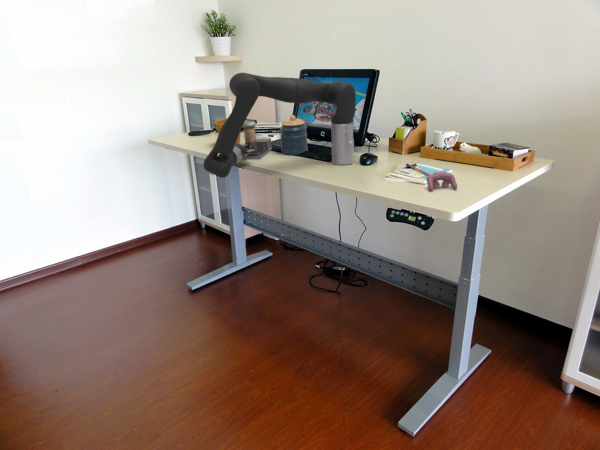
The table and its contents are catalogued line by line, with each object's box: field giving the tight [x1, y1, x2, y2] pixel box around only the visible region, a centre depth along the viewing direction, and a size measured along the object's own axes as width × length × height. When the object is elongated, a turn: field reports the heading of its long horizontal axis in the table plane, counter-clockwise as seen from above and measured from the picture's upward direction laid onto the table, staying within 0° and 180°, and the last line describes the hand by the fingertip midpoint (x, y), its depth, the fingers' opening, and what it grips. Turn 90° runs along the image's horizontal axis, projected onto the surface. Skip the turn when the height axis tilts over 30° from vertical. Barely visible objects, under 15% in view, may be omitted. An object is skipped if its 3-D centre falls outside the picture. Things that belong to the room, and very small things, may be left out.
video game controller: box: [426, 171, 458, 192], centre depth 144 cm, size 10×5×7 cm, turn 92°
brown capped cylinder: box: [242, 120, 257, 155], centre depth 192 cm, size 6×6×15 cm
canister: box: [279, 114, 309, 156], centre depth 198 cm, size 13×13×18 cm
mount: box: [243, 138, 273, 160], centre depth 200 cm, size 10×18×6 cm, turn 166°
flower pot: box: [214, 118, 243, 145], centre depth 217 cm, size 14×14×13 cm
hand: (248, 144), depth 190 cm, fingers closed
